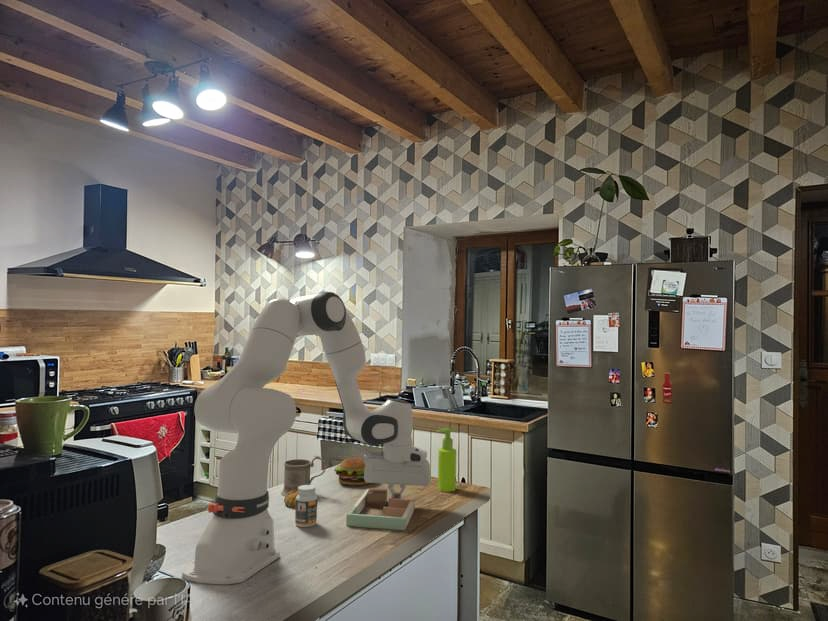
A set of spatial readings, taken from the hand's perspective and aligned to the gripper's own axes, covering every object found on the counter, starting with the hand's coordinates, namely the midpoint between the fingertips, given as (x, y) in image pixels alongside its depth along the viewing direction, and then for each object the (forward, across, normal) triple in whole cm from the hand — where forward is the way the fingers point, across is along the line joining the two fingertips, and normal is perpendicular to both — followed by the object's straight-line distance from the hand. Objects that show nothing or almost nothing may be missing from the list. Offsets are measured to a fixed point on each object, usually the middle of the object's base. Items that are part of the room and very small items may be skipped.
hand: (396, 498), depth 169 cm
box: (+2, -2, -8) cm, 9 cm away
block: (+2, -6, 0) cm, 6 cm away
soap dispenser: (+2, +13, +18) cm, 23 cm away
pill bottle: (+2, -21, -21) cm, 30 cm away
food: (+2, -19, +22) cm, 29 cm away
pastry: (+2, -28, -6) cm, 29 cm away
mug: (+2, -31, +5) cm, 31 cm away
